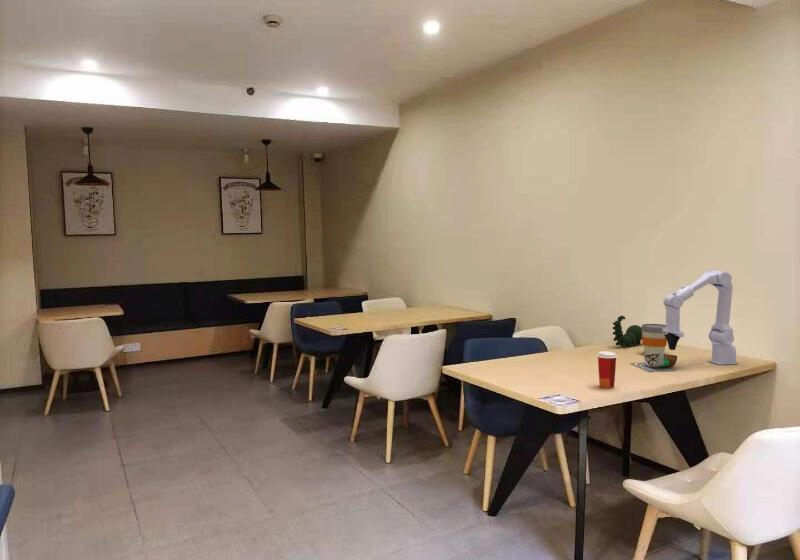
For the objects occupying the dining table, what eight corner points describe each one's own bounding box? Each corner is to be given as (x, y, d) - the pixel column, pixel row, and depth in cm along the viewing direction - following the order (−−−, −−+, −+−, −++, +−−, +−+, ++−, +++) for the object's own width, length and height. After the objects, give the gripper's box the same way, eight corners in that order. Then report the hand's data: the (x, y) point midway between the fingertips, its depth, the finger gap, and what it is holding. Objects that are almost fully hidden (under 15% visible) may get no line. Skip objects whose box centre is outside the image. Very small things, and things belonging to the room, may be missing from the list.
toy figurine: (624, 353, 299) (651, 343, 312) (622, 318, 296) (650, 310, 310) (609, 350, 307) (636, 340, 320) (607, 316, 304) (634, 308, 318)
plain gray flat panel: (655, 362, 269) (655, 361, 269) (675, 370, 252) (675, 370, 252) (629, 363, 268) (629, 362, 268) (648, 372, 251) (648, 371, 251)
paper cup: (612, 383, 233) (612, 350, 232) (620, 388, 225) (620, 354, 224) (593, 384, 233) (593, 351, 232) (600, 389, 225) (601, 355, 224)
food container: (661, 370, 263) (642, 367, 262) (661, 357, 265) (642, 354, 263) (679, 369, 252) (660, 366, 250) (679, 355, 253) (660, 352, 251)
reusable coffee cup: (635, 353, 289) (635, 325, 288) (652, 351, 294) (653, 322, 293) (655, 358, 278) (656, 328, 276) (673, 355, 283) (673, 326, 282)
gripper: (656, 318, 265) (655, 346, 266) (673, 323, 251) (672, 353, 252) (670, 318, 266) (669, 346, 267) (688, 322, 251) (687, 352, 252)
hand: (672, 349), depth 259 cm, fingers closed
